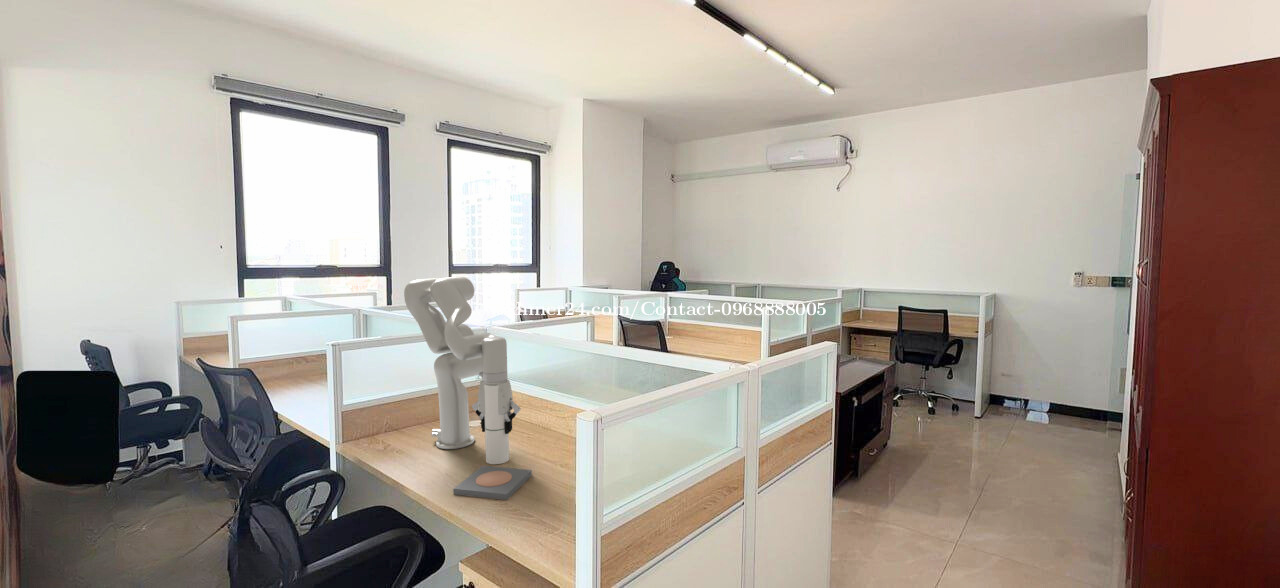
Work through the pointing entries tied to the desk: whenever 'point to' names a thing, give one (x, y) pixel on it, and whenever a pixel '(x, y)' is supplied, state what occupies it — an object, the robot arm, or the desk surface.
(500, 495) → the board
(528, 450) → the desk surface
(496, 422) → the cylindrical container
